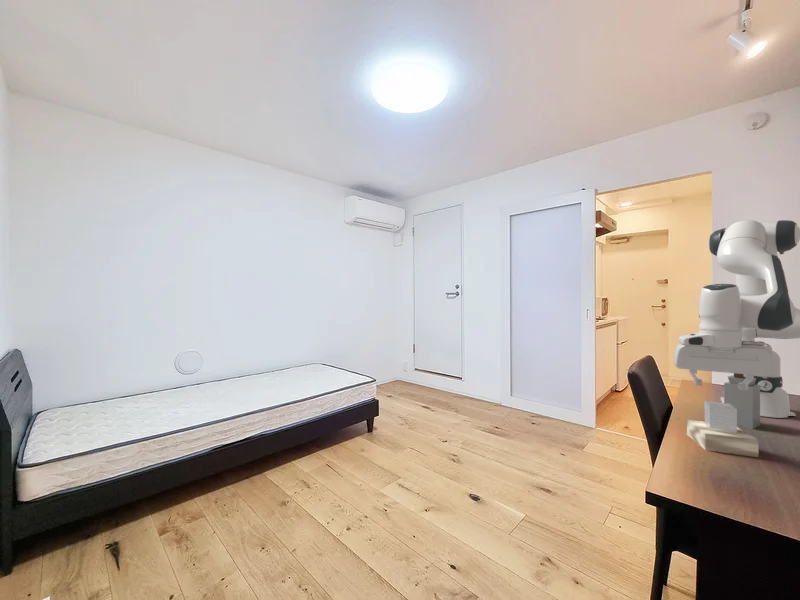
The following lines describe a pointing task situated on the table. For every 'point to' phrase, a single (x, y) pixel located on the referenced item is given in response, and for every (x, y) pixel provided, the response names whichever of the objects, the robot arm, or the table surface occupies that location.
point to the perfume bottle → (743, 400)
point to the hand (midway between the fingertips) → (719, 387)
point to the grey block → (720, 417)
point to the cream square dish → (723, 440)
